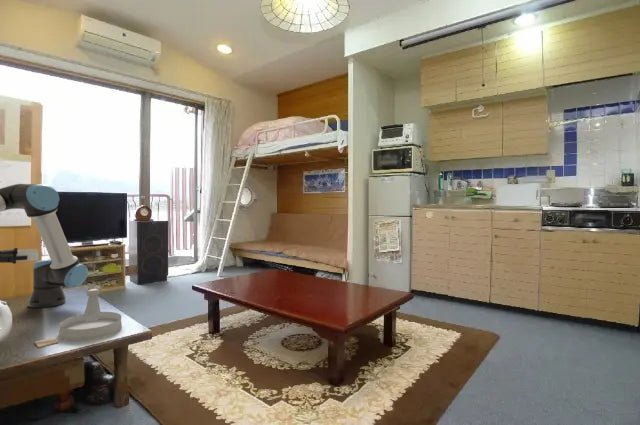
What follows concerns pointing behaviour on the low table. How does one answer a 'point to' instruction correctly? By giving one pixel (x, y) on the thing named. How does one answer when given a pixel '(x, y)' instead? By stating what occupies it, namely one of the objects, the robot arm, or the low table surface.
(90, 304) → the salt shaker
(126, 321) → the low table surface
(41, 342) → the cork coaster
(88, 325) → the dish
